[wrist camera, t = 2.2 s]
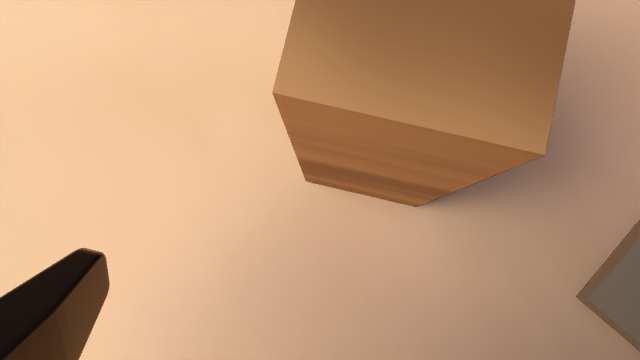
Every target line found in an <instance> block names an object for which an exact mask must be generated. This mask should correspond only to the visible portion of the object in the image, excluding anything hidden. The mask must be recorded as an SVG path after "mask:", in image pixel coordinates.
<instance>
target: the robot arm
mask: <svg viewBox="0 0 640 360" xmlns="http://www.w3.org/2000/svg"><path fill="white" fill-rule="evenodd" d="M108 290H109V276H108V269H107V261H106V257H105V255H104V254H103V253H102V252H99V251H95V250H91V249H86V248H80V249H77V250H76V251H74V252H72V253H71V254H69V255H67V256H66V257H64V258H63V259H61V260H59V261H58V262H56V263H55V264H53V265H51V266H50V267H48V268H47V269H45V270H43V271H42V272H40V273H39V274H37V275H35V276H34V277H32V278H31V279H29V280H27V281H26V282H24V283H23V284H21V285H19V286H18V287H16V288H15V289H13V290H11V291H10V292H8V293H7V294H5V295H3V296H2V297H0V360H79V358H80V356H81V353H82V351H83V349H84V347H85V344H86V342H87V340H88V338H89V335H90V333H91V331H92V328H93V326H94V324H95V322H96V319H97V317H98V315H99V313H100V310H101V308H102V306H103V303H104V301H105V299H106V297H107V294H108Z"/></svg>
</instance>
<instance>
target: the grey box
mask: <svg viewBox="0 0 640 360" xmlns="http://www.w3.org/2000/svg"><path fill="white" fill-rule="evenodd" d="M577 298H578V299H579V300H581V301H582V302H583V303H584V304H585V305H586V306H588V307H589V308H590V309H591V310H592V311H593V312H595V313H596V314H597V315H598V316H599V317H600V318H602V319H603V320H604V321H605V322H606V323H608V324H609V325H610V326H611V327H612V328H613V329H615V330H616V331H617V332H618V333H619V334H620V335H622V336H623V337H624V338H625V339H626V340H627V341H629V342H630V343H631V344H632V345H633V346H634V347H636V348H637V349H638V350H639V351H640V220H639V221H638V223H637V224H636V225H635V226H634V227H633V229H632V230H631V231H630V232H629V233H628V235H627V236H626V237H625V238H624V240H623V241H622V242H621V243H620V244H619V246H618V247H617V248H616V249H615V250H614V252H613V253H612V254H611V255H610V256H609V258H608V259H607V260H606V261H605V263H604V264H603V265H602V266H601V267H600V269H599V270H598V271H597V272H596V273H595V275H594V276H593V277H592V278H591V280H590V281H589V282H588V283H587V284H586V286H585V287H584V288H583V289H582V290H581V292H580V293H579V294H578V295H577Z"/></svg>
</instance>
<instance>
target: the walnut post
mask: <svg viewBox="0 0 640 360" xmlns="http://www.w3.org/2000/svg"><path fill="white" fill-rule="evenodd" d="M574 5H575V0H296V1H295V5H294V9H293V13H292V17H291V21H290V25H289V29H288V33H287V37H286V41H285V45H284V49H283V52H282V56H281V60H280V64H279V68H278V72H277V76H276V80H275V84H274V88H273V92H272V93H273V96H274V98H275V101H276V103H277V106H278V109H279V111H280V114H281V117H282V119H283V122H284V124H285V127H286V130H287V132H288V135H289V138H290V140H291V143H292V146H293V148H294V151H295V153H296V156H297V159H298V161H299V164H300V167H301V169H302V172H303V174H304V177H305V180H306V181H308V182H312V183H316V184H320V185H325V186H329V187H333V188H337V189H342V190H346V191H350V192H354V193H359V194H363V195H367V196H371V197H376V198H380V199H384V200H388V201H393V202H397V203H401V204H405V205H410V206H414V207H417V206H419V205H422V204H424V203H427V202H429V201H432V200H434V199H437V198H439V197H442V196H444V195H447V194H449V193H452V192H454V191H457V190H459V189H462V188H464V187H467V186H469V185H472V184H474V183H477V182H479V181H482V180H484V179H487V178H489V177H492V176H494V175H496V174H499V173H501V172H504V171H506V170H509V169H511V168H514V167H516V166H519V165H521V164H524V163H526V162H529V161H531V160H534V159H536V158H539V157H541V156H544V155H545V152H546V147H547V142H548V137H549V132H550V127H551V122H552V117H553V112H554V106H555V101H556V96H557V91H558V86H559V81H560V76H561V71H562V66H563V61H564V56H565V51H566V45H567V40H568V35H569V30H570V25H571V20H572V15H573V10H574Z"/></svg>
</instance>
